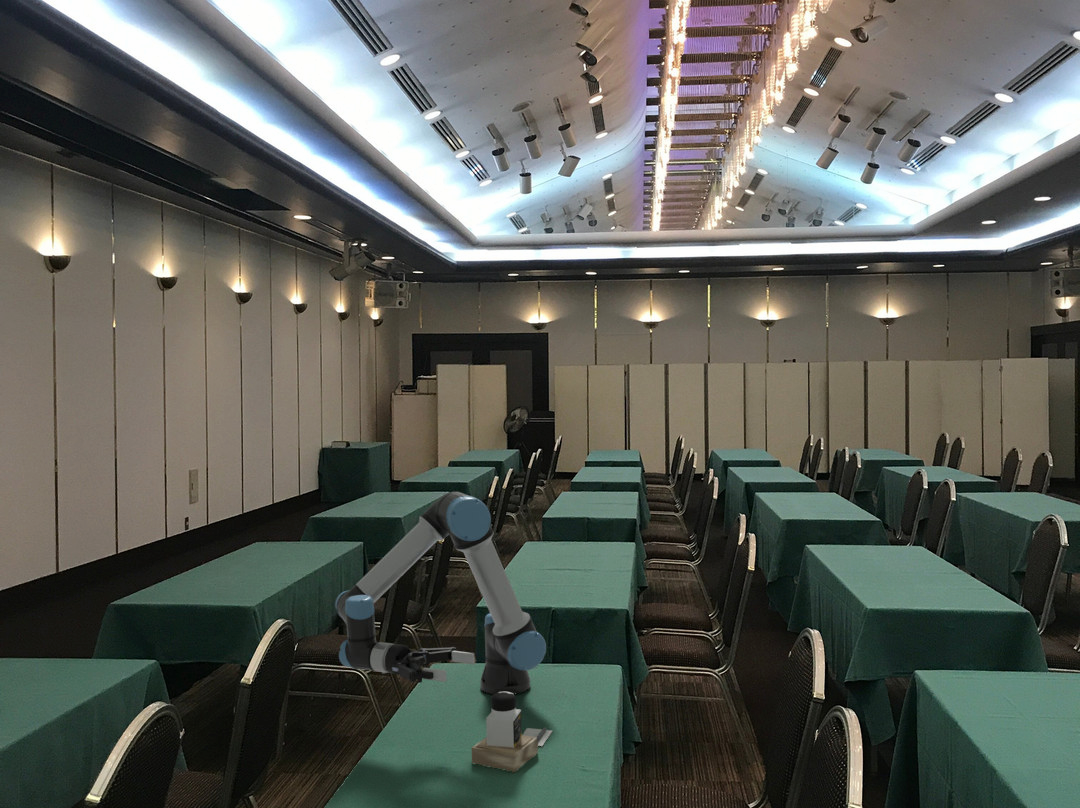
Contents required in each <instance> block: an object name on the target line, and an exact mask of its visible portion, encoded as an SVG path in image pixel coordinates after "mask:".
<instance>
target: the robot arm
mask: <svg viewBox="0 0 1080 808" xmlns="http://www.w3.org/2000/svg"><path fill="white" fill-rule="evenodd" d="M491 517H492V515H491V513H490V511H489V508H488V507H487V505H486V504H485V503H484V502H483V501H482V500H481V499H479V498H477V497H475V496H472V495H468V494H466V493H464V492H460V491H451V492H446V493H445V494H443V495H442V496H440V497H439V498H438V499H436V501H434V502H433V503H432V504H431V505H430V506H429V507H428V508H427V509H426V510H425V511H424V512H423V513H422V514H421V515H420V516H419V519H418V520H419V521H418V523H417V524H416V525H415V526H414V527H413V528H412V529H410V530H409V532H408V533H407V534H405V536H403V538H401V540H399V542H398V543H397V544H395V545H394V546H393V547H392V548H391V549H390V551H388V552H387V554H385V555H384V557H382V558H381V559H380V560H379V561H377V563H376V564H375V565H374V566H373V567H371V569H370V570H369V571H368V572H367V573H366V574H365V575H364V576H363V577H362V578H361V579H360V580H359V581H358V582H356V584H354V585H353V586H352V588H350V589H349V590H345V591H342V592H341V593H340V594H338V596H337V597H336V600H335V609H336V613H337V614H338V616H339V617H340V618H341V620H343V622H344V623H345V625H346V635H347V638H346V639H345V640H344V641H343V642H342V643H341V644H340V646H339V649H340V650H339V652H338V658H339V662H340V663H341V664H342V665H343V666H344V667H346V668H347V667H348V668H352V669H354V670H365V671H374V672H381V674H386V673H390V674H393V675H398V676H399V677H402V678H404V679H405V680H408V681H409V682H412V683H414V682H416V681H417V683H421V684H422V683H423V680H426V681H427V680H428V681H433V682H434V681H436V682H443V683H446V682H447V670H446V669H438V668H431V667H425V666H428V665H430V664H432V663H439V662H440V663H441V662H447V661H452V662H455V663H460V664H469V665H475V662H476V661H475V659H476V658H475V653H474V652H468V651H459V650H457V647H455V646H451V647H433V648H427V647H426V648H423V647H420V648H419V651H418V650H417V651H415V650H414V651H412V650H411V649H410V647H408V645H405V644H398V643H396V644H395V643H390V642H381V641H377V639H376V623H375V622H376V621H375V611H376V610H375V608H376V607H374V606H375V605H374V604H375V603H376V602H377V601H378V600H379V599H380V597H382V596H383V595H384V594H385V593H386V592H387V591H388V590H389V589H390V588H391V587H392V586H393V585H394V584H395V583H396V582H397V581H398V580H399V579H400V578H401V577H402V576H404V574H405V573H406V572H407V571H408V570H410V568H411V567H412V566H414V564H416V563H417V561H418V560H419V559H421V558H422V557H423V555H425V553H427V551H428V550H429V549H431V547H432V546H434V544H435V543H437V542H439V541H443V540H445V539H446V538H447V537H448V536H450V538H451V541H452V543H453V545H454V548H455V550H457V551H459V552H462V553H463V555H464V556H465V559H466V561H467V563H468V567H469V568H470V570H471V573H472V575H473V577H474V579H475V581H476V584H477V586H478V588H479V591H480V594H481V595H482V597H483V600H484V601H485V604H486V606H487V609H488V611H489V613H487V614H486V615H485V617H484V625H483V626H484V640H485V641H484V643H485V644H484V645H485V646H484V647H485V648H484V649H485V664H484V668H483V671H482V675H481V678H480V690H481V692H483V691H484V693H485V692H486V694H488V693H489V694H488V695H492V694H495V693H497V692H503V691H506V692H511V693H513V694H515V693H519V694H521V693H520V692H522V693H525V692H526V690H527V689H528V690H529V689H530V688H531V677H530V675H529V673H528V671H530V670H532V669H535V668H536V667H537V666H538V665H540V664H541V662H542V661H543V660H544V658H545V656H546V653H547V644H546V640H545V638H544V637H543V636H542V634H541V633H540V632H538V631H537V630H536V627H535V625H534V622H533V619H532V618H531V616H530V614H529V613H528V612H525V611H523V610H522V608H521V605H520V603H519V601H518V599H517V595H516V594H515V591H514V589H513V586H512V584H511V583H510V580H509V578H508V576H507V573H506V571H505V569H504V566H503V564H502V561H501V559H500V556H499V554H498V553H497V549H496V548H495V545H494V543H493V540H492V538H493V536H494V534H495V533H494V530H493V528H492V524H491V523H492V518H491ZM421 666H424V667H423V668H421ZM528 690H527V691H528ZM524 691H525V692H524ZM515 695H516V694H515Z"/></svg>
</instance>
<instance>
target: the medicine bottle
mask: <svg viewBox="0 0 1080 808" xmlns="http://www.w3.org/2000/svg"><path fill="white" fill-rule="evenodd" d="M516 697H517V696H516V694H515V695H514V694H513V693H511V692H506V691H503V692H497V693H495V694H493V695H492V694H491V701H490V702H491V705H490V707H491V712H490V713H489V714H488V715H487V717H486V718H485V722H486V725H485V726H486V737H487V746H494V747H506V748H515V746H516V745H517V743H518V741H519V740H520V738H521V737H522V734H523V733H522V709H520V708H519V709H517V704H516V702H517V699H516Z"/></svg>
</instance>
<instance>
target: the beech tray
mask: <svg viewBox="0 0 1080 808" xmlns="http://www.w3.org/2000/svg"><path fill="white" fill-rule="evenodd" d="M538 750H539V747H538V743H537V738H536V737H530V736H525V735H522V737H521V738H520V740H519V741H518V743H517V745H516V746H515V748H506V747H494V746H487V736H486V737H484V738H483V739H482V740H480V741H479V742H478V743H476V744H475V745H473V746H471V764H472V763H475V764H474V765H476V764H480V765H485V766H490V767H494V768H500V769H505V770H508V771H512V772H511V773H513V772H515V771H516V770H517V769H518V770H520V769H521V768H522V767H523V766H524V765H523V764H525V763H526V762H527V761H528V760H529V761H530V759H531V758H532V757H533V758H534V757H536V756H537V755H538V754H539V753H538ZM537 753H538V754H537ZM536 754H537V755H536ZM533 758H532V759H533ZM532 759H531V760H532ZM529 761H528V762H529ZM528 762H527V763H528ZM527 763H526V764H527ZM526 764H525V765H526ZM480 765H479V766H480ZM522 765H523V766H522ZM485 766H484V767H485ZM521 766H522V767H521ZM490 767H489V768H490ZM520 767H521V768H520ZM494 768H493V769H494ZM519 768H520V769H519ZM518 770H517V771H518ZM508 771H507V772H508ZM517 771H516V772H517ZM516 772H515V773H516Z"/></svg>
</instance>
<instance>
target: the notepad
mask: <svg viewBox="0 0 1080 808" xmlns="http://www.w3.org/2000/svg"><path fill="white" fill-rule="evenodd" d="M552 734H553V730H549V729H547V727H545V726H544V727H543V728H542V729H541V728H529V727H527V728H526V729H525V730H524V732H523V733H522V735H525V736H530V737H536V738H537V743H538V746H541V747H540V748H543V747H544V746H545V744H546V743H547V741H548V740H547V739H549V738H550V737H551V735H552ZM546 740H547V741H546ZM545 742H546V743H545ZM544 743H545V744H544ZM543 745H544V746H543ZM542 746H543V747H542Z"/></svg>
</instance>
